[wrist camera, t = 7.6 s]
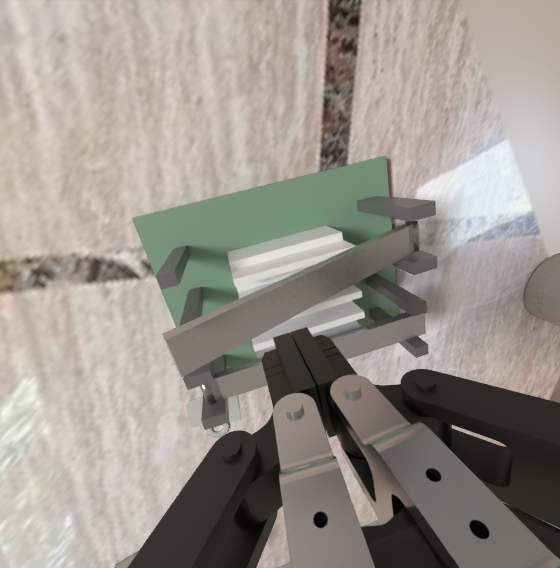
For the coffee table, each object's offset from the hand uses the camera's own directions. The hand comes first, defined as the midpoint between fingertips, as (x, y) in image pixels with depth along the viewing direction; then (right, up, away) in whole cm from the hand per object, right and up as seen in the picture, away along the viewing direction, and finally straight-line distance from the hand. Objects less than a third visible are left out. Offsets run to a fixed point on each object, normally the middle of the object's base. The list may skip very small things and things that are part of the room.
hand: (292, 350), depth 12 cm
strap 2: (+3, -3, +13) cm, 14 cm away
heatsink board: (0, +3, +19) cm, 19 cm away
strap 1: (+2, +3, +7) cm, 8 cm away
